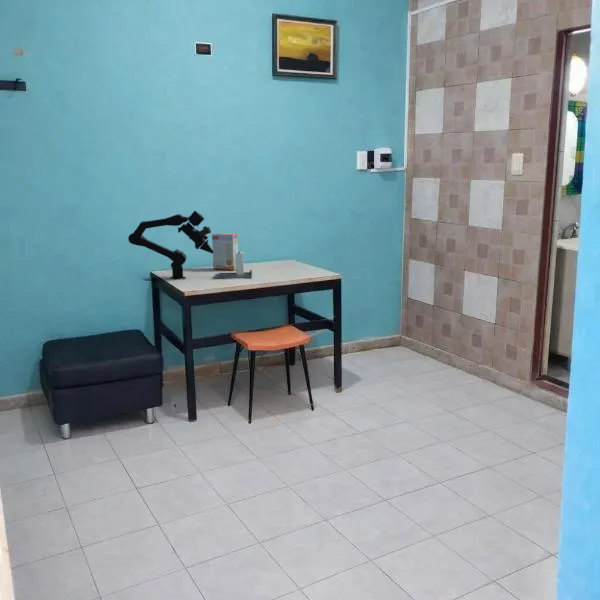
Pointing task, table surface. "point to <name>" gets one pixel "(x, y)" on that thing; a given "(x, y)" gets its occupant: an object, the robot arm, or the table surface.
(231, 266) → the cracker box
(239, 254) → the fader cap
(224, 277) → the fader track base
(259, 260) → the table surface
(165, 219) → the robot arm
